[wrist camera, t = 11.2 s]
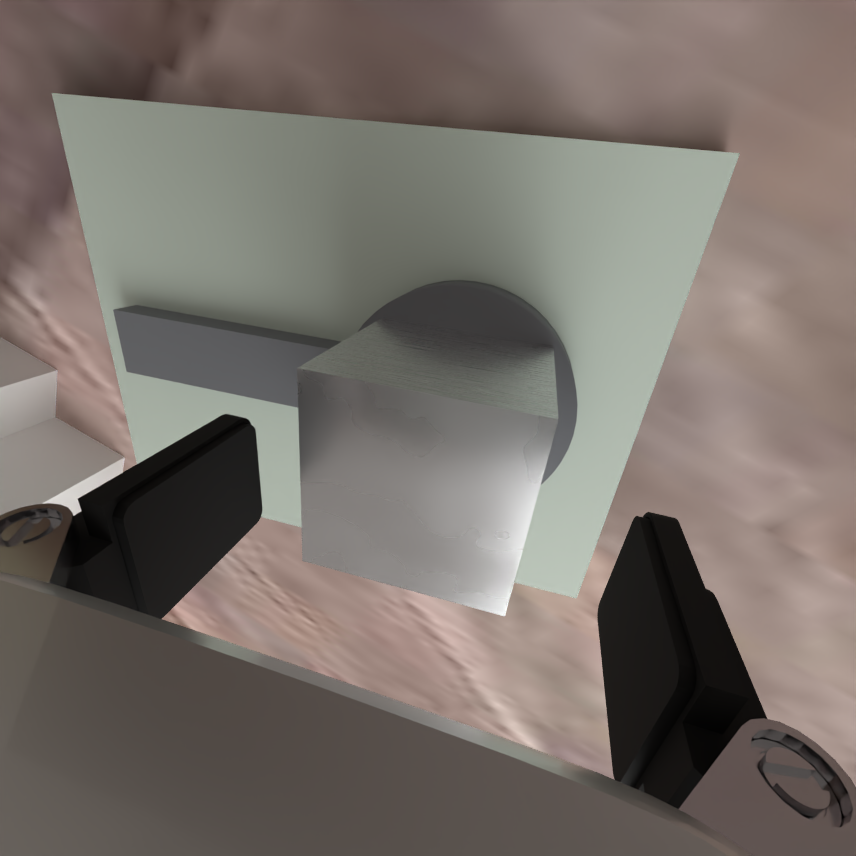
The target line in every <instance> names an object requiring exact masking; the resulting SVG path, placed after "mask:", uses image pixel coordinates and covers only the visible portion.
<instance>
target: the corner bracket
mask: <svg viewBox="0 0 856 856" xmlns="http://www.w3.org/2000/svg"><path fill="white" fill-rule="evenodd" d="M57 372H58V370H57V369H55V368H53V367H51V366H50V365H48V364H46V363H45V362H43V361H41V360H39V359H38V358H36V357H34V356H32V355H31V354H29V353H27V352H26V351H24V350H22V349H20V348H19V347H17V346H15V345H14V344H12V343H10V342H8V341H7V340H5V339H3V338H2V337H0V515H2V514H4V513H6V512H9V511H12V510H15V509H18V508H21V507H25V506H30V505H35V504H46V503H52V504H61V505H63V506H66V507H68V508H69V509H70V510H71V512H72V513H73V516H74V515H76V514H77V513H79V512H81V508H80V505H79V502H78V498H80V497H82V496H83V495H85V494H87V493H88V492H90V491H92V490H94V489H95V488H97V487H99V486H101V485H102V484H104V483H106V482H107V481H109V480H111V479H113V478H114V477H116V476H118V475H120V474H121V473H122V472H123V466H124V459H125V457H124V456H122V455H120V454H119V453H117V452H115V451H113V450H112V449H110V448H108V447H106V446H105V445H103V444H101V443H100V442H98V441H96V440H94V439H93V438H91V437H89V436H88V435H86V434H84V433H82V432H81V431H79V430H77V429H75V428H74V427H72V426H70V425H69V424H67V423H65V422H63V421H62V420H60V419H58V418H57V417H55V416H56V394H57Z"/></svg>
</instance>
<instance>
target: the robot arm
mask: <svg viewBox="0 0 856 856" xmlns="http://www.w3.org/2000/svg"><path fill="white" fill-rule="evenodd" d="M78 502H79V505H80V508H81V512H79V513H77V514H76V515H74V516H73V513H72V512H71V510H70V509H69V508H68V507H66V506H63V505H61V504H52V503H46V504H35V505H30V506H25V507H21V508H18V509H15V510H12V511H9V512H6V513H4V514H2V515H0V856H856V787H855V785H854V783H853V782H852V780H851V778H850V777H849V776H848V775H847V774H846V772H845V771H844V770H843V769H842V768H841V766H840V765H839V764H838V763H837V762H836V761H835V759H833V758H832V757H831V756H830V755H829V754H828V753H827V752H826V751H825V750H824V749H822V748H821V747H820V746H819V745H818V744H817V743H815V742H814V741H813V740H811V739H810V738H808V737H807V736H805V735H804V734H802V733H801V732H799V731H798V730H796V729H794V728H791V727H789V726H787V725H785V724H783V723H781V722H778V721H773V720H769V719H767V717H766V715H765V712H764V710H763V708H762V705H761V703H760V701H759V698H758V696H757V693H756V691H755V689H754V686H753V684H752V682H751V679H750V677H749V674H748V672H747V670H746V667H745V665H744V663H743V660H742V658H741V655H740V653H739V651H738V648H737V646H736V643H735V641H734V639H733V636H732V634H731V632H730V629H729V627H728V624H727V622H726V620H725V617H724V615H723V613H722V610H721V608H720V605H719V603H718V601H717V599H716V597H715V595H714V594H713V593H712V592H711V591H709V590H707V589H705V586H704V584H703V581H702V579H701V576H700V574H699V571H698V569H697V566H696V564H695V561H694V559H693V556H692V554H691V551H690V549H689V546H688V544H687V541H686V539H685V536H684V534H683V531H682V529H681V526H680V524H679V522H678V520H677V519H675V518H672V517H668V516H663V515H659V514H655V513H650V512H647V513H646V514H645V515H644V516H643V517H639V516H636V517H635V518H634V520H633V522H632V524H631V527H630V529H629V531H628V534H627V536H626V539H625V541H624V544H623V546H622V549H621V551H620V554H619V556H618V559H617V561H616V563H615V566H614V568H613V571H612V573H611V576H610V578H609V581H608V583H607V586H606V588H605V591H604V593H603V595H602V598H601V600H600V603H599V608H598V627H599V637H600V647H601V657H602V667H603V677H604V687H605V697H606V707H607V717H608V727H609V737H610V747H611V757H612V767H613V774H614V779H615V780H614V779H611V778H609V777H606V776H604V775H602V774H599V773H597V772H594V771H592V770H589V769H586V768H583V767H581V766H578V765H575V764H573V763H570V762H567V761H565V760H562V759H559V758H557V757H554V756H551V755H548V754H546V753H543V752H540V751H538V750H535V749H532V748H530V747H527V746H524V745H521V744H519V743H516V742H513V741H511V740H508V739H505V738H503V737H500V736H497V735H494V734H491V733H488V732H486V731H483V730H480V729H477V728H474V727H471V726H468V725H466V724H463V723H460V722H457V721H454V720H451V719H449V718H446V717H443V716H440V715H437V714H434V713H432V712H429V711H426V710H423V709H420V708H417V707H414V706H412V705H409V704H406V703H403V702H400V701H397V700H395V699H392V698H389V697H386V696H383V695H380V694H377V693H375V692H372V691H369V690H366V689H363V688H360V687H357V686H355V685H352V684H349V683H346V682H343V681H340V680H337V679H334V678H331V677H329V676H326V675H323V674H320V673H317V672H314V671H311V670H308V669H305V668H303V667H300V666H297V665H294V664H291V663H288V662H285V661H282V660H279V659H276V658H274V657H271V656H268V655H265V654H262V653H259V652H256V651H253V650H250V649H247V648H244V647H242V646H239V645H236V644H233V643H230V642H227V641H224V640H221V639H218V638H215V637H212V636H209V635H206V634H203V633H201V632H198V631H195V630H192V629H189V628H186V627H183V626H180V625H177V624H174V623H171V622H168V621H165V620H162V618H163V617H164V616H165V615H166V614H167V613H168V612H169V611H170V610H171V609H172V608H173V607H174V606H175V605H176V604H177V603H178V602H179V601H180V600H181V599H182V598H183V597H184V596H185V595H186V594H187V593H188V592H189V591H190V590H191V589H192V588H193V587H194V586H195V585H196V584H197V583H198V582H199V581H200V580H201V579H202V578H203V577H204V576H205V575H206V574H207V573H208V572H209V571H210V570H211V569H212V568H213V567H214V566H215V565H216V564H217V563H218V562H219V561H220V560H221V559H222V558H223V557H224V556H225V555H226V554H227V553H228V552H229V551H230V550H231V549H232V548H233V547H234V546H235V545H236V544H237V543H238V542H239V541H240V540H241V539H242V538H243V537H244V536H245V535H246V534H247V533H248V532H249V530H250V529H251V528H252V527H253V526H254V525H255V524H256V523H257V522H258V521H259V519H260V517H261V515H262V497H261V485H260V474H259V462H258V450H257V439H256V430H255V428H254V426H252V425H251V422H250V421H249V420H248V419H247V418H243V417H239V416H234V415H230V414H224V415H221V416H219V417H218V418H216V419H214V420H213V421H211V422H209V423H207V424H206V425H204V426H202V427H201V428H199V429H197V430H195V431H194V432H192V433H190V434H188V435H187V436H185V437H183V438H182V439H180V440H178V441H176V442H175V443H173V444H171V445H169V446H168V447H166V448H164V449H163V450H161V451H159V452H157V453H156V454H154V455H152V456H151V457H149V458H147V459H145V460H144V461H142V462H140V463H138V464H137V465H135V466H133V467H132V468H130V469H128V470H126V471H125V472H123V473H121V474H120V475H118V476H116V477H114V478H113V479H111V480H109V481H107V482H106V483H104V484H102V485H101V486H99V487H97V488H95V489H94V490H92V491H90V492H88V493H87V494H85V495H83V496H82V497H80V498H78Z"/></svg>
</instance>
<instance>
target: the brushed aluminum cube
mask: <svg viewBox="0 0 856 856" xmlns="http://www.w3.org/2000/svg"><path fill="white" fill-rule="evenodd" d="M297 383H298V418H299V453H300V488H301V524H302V559H303V561H305V562H309V563H312V564H316V565H320V566H323V567H327V568H330V569H334V570H338V571H341V572H345V573H349V574H352V575H356V576H360V577H363V578H367V579H371V580H374V581H378V582H381V583H385V584H389V585H392V586H396V587H400V588H403V589H407V590H411V591H414V592H418V593H421V594H425V595H429V596H432V597H436V598H440V599H443V600H447V601H451V602H454V603H458V604H462V605H465V606H469V607H472V608H476V609H480V610H483V611H487V612H491V613H494V614H498V615H502V616H505V613H506V610H507V606H508V602H509V599H510V595H511V591H512V588H513V584H514V580H515V577H516V573H517V569H518V566H519V562H520V559H521V555H522V551H523V548H524V544H525V540H526V537H527V533H528V529H529V526H530V522H531V518H532V515H533V511H534V507H535V504H536V500H537V496H538V493H539V489H540V485H541V482H542V478H543V474H544V471H545V467H546V463H547V460H548V456H549V452H550V449H551V445H552V441H553V438H554V434H555V431H556V427H557V423H558V420H559V419H558V404H557V390H556V376H555V362H554V348H553V347H550V346H545V345H539V344H533V343H527V342H521V341H515V340H509V339H503V338H497V337H491V336H485V335H480V334H474V333H468V332H462V331H456V330H450V329H444V328H438V327H432V326H426V325H421V324H415V323H409V322H403V321H397V320H391V319H385V318H381V319H379V320H378V321H376V322H374V323H373V324H371V325H369V326H367V327H366V328H364V329H362V330H361V331H359V332H357V333H356V334H354V335H352V336H351V337H349V338H347V339H345V340H344V341H342V342H340V343H339V344H337V345H335V346H334V347H332V348H330V349H329V350H327V351H325V352H324V353H322V354H320V355H318V356H317V357H315V358H313V359H312V360H310V361H308V362H307V363H305V364H303V365H302V366H300V367H298V368H297Z"/></svg>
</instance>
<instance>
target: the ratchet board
mask: <svg viewBox="0 0 856 856" xmlns="http://www.w3.org/2000/svg"><path fill="white" fill-rule="evenodd" d="M52 97H53V101H54V105H55V110H56V114H57V118H58V123H59V127H60V131H61V136H62V140H63V144H64V149H65V153H66V157H67V162H68V166H69V170H70V175H71V179H72V183H73V188H74V192H75V196H76V201H77V205H78V209H79V214H80V218H81V223H82V227H83V231H84V236H85V240H86V244H87V249H88V253H89V257H90V262H91V266H92V270H93V275H94V279H95V283H96V288H97V292H98V296H99V301H100V305H101V309H102V314H103V318H104V322H105V327H106V331H107V335H108V340H109V344H110V348H111V353H112V357H113V361H114V366H115V370H116V374H117V379H118V383H119V387H120V392H121V396H122V400H123V405H124V409H125V413H126V418H127V422H128V427H129V431H130V435H131V440H132V444H133V448H134V453H135V457H136V461H137V464H138V463H140V462H142V461H144V460H145V459H147V458H149V457H151V456H152V455H154V454H156V453H157V452H159V451H161V450H163V449H164V448H166V447H168V446H169V445H171V444H173V443H175V442H176V441H178V440H180V439H182V438H183V437H185V436H187V435H188V434H190V433H192V432H194V431H195V430H197V429H199V428H201V427H202V426H204V425H206V424H207V423H209V422H211V421H213V420H214V419H216V418H218V417H219V416H221V415H224V414H230V415H234V416H239V417H243V418H247V419H248V420H249V421H250V422H251V425H252V426H254V428H255V430H256V439H257V450H258V462H259V474H260V485H261V497H262V515H261V517H263V518H267V519H271V520H275V521H279V522H283V523H287V524H290V525H294V526H298V527H302V524H301V488H300V453H299V418H298V383H297V368H298V367H300V366H302V365H303V364H305V363H307V362H308V361H310V360H312V359H313V358H315V357H317V356H318V355H320V354H322V353H324V352H325V351H327V350H329V349H330V348H332V347H334V346H335V345H337V344H339V343H340V342H342V341H344V340H345V339H347V338H349V337H351V336H352V335H354V334H356V333H357V332H359V331H361V330H362V329H364V328H366V327H367V326H369V325H371V324H373V323H374V322H376V321H378V320H379V319H381V318H385V319H391V320H397V321H403V322H409V323H415V324H421V325H426V326H432V327H438V328H444V329H450V330H456V331H462V332H468V333H474V334H480V335H485V336H491V337H497V338H503V339H509V340H515V341H521V342H527V343H533V344H539V345H545V346H550V347H553V348H554V362H555V376H556V390H557V404H558V419H559V420H558V423H557V427H556V431H555V434H554V438H553V441H552V445H551V449H550V452H549V456H548V460H547V463H546V467H545V471H544V474H543V478H542V482H541V485H540V489H539V493H538V496H537V500H536V504H535V507H534V511H533V515H532V518H531V522H530V526H529V529H528V533H527V537H526V540H525V544H524V548H523V551H522V555H521V559H520V562H519V566H518V569H517V573H516V577H515V580H514V582H515V583H519V584H523V585H526V586H530V587H534V588H538V589H542V590H546V591H550V592H554V593H557V594H561V595H565V596H569V597H573V598H577V596H578V593H579V590H580V587H581V585H582V582H583V579H584V577H585V574H586V571H587V568H588V566H589V563H590V560H591V558H592V555H593V552H594V549H595V547H596V544H597V541H598V538H599V536H600V533H601V530H602V528H603V525H604V522H605V519H606V517H607V514H608V511H609V508H610V506H611V503H612V500H613V498H614V495H615V492H616V489H617V487H618V484H619V481H620V478H621V476H622V473H623V470H624V468H625V465H626V462H627V459H628V457H629V454H630V451H631V448H632V446H633V443H634V440H635V438H636V435H637V432H638V429H639V427H640V424H641V421H642V419H643V416H644V413H645V410H646V408H647V405H648V402H649V399H650V397H651V394H652V391H653V389H654V386H655V383H656V380H657V378H658V375H659V372H660V369H661V367H662V364H663V361H664V359H665V356H666V353H667V350H668V348H669V345H670V342H671V339H672V337H673V334H674V331H675V329H676V326H677V323H678V320H679V318H680V315H681V312H682V309H683V307H684V304H685V301H686V299H687V296H688V293H689V290H690V288H691V285H692V282H693V280H694V277H695V274H696V271H697V269H698V266H699V263H700V260H701V258H702V255H703V252H704V250H705V247H706V244H707V241H708V239H709V236H710V233H711V230H712V228H713V225H714V222H715V220H716V217H717V214H718V211H719V209H720V206H721V203H722V200H723V198H724V195H725V192H726V190H727V187H728V184H729V181H730V179H731V176H732V173H733V170H734V168H735V165H736V162H737V160H738V157H739V154H740V153H730V152H719V151H707V150H696V149H684V148H673V147H662V146H650V145H639V144H627V143H616V142H605V141H593V140H582V139H570V138H559V137H548V136H536V135H525V134H513V133H502V132H491V131H479V130H468V129H456V128H445V127H434V126H422V125H411V124H399V123H388V122H377V121H365V120H354V119H342V118H331V117H320V116H308V115H297V114H285V113H274V112H263V111H251V110H240V109H228V108H217V107H206V106H194V105H183V104H171V103H160V102H149V101H137V100H126V99H114V98H103V97H92V96H80V95H69V94H57V93H52Z"/></svg>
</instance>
